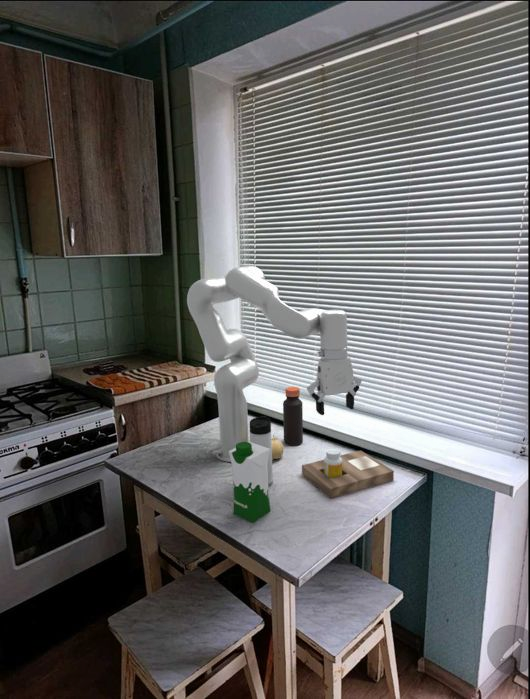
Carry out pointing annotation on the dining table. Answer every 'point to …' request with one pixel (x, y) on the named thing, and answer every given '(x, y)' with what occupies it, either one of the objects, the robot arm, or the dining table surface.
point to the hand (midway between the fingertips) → (335, 410)
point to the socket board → (349, 474)
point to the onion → (276, 448)
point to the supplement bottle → (332, 463)
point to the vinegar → (293, 417)
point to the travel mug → (262, 438)
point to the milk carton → (250, 480)
